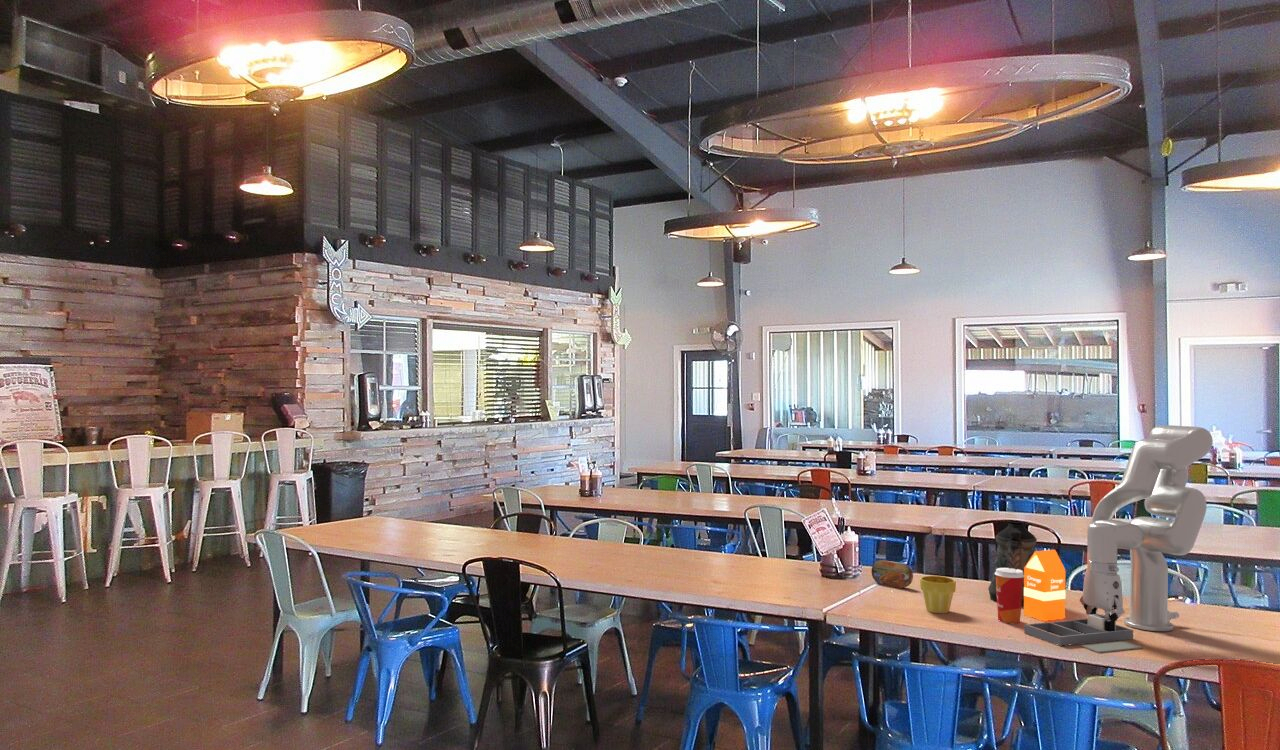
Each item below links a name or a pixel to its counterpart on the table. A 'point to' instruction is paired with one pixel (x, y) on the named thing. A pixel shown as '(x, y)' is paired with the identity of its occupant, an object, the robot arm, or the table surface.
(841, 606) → the table surface
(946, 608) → the plant pot
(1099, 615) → the letter cube
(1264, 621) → the table surface
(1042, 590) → the orange juice
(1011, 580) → the coffee cup
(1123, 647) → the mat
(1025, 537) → the dark ornate vase
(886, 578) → the tin
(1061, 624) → the sorting box
